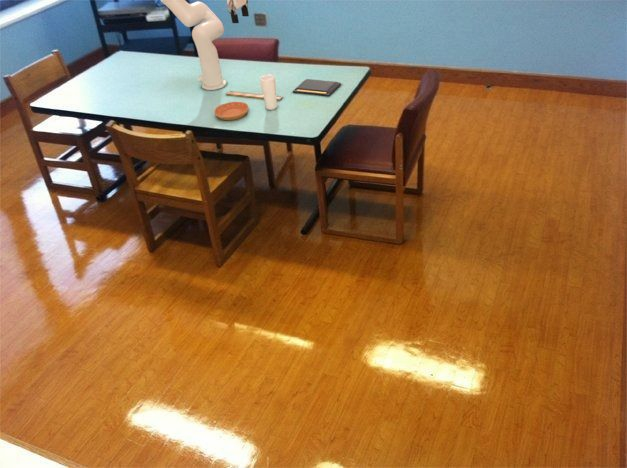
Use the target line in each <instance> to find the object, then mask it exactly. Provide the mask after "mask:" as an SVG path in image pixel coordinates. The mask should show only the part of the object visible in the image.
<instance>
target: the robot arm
mask: <svg viewBox="0 0 627 468" xmlns="http://www.w3.org/2000/svg"><path fill="white" fill-rule="evenodd" d="M159 1H160V2H161V3H162V4H164V6H166V7H167V8H168V9H169V10H170V11H171V12H172V14H173V15H174V16H175V17H176V18H177V19H178V20H179V21H180V22H181V23H182V25H184V26H185V27H186V28H191V27H193V29H192V31H191V37H192V40H193V42H194V45H195V47H196V50H197V55H198V59H199V65H200V68H201V69H200V70H201V73H202V75H199V76H198V78H197V79H198V81H199V82H202V84H201V87H202V89H204V90H207V91H215V90H220V89H222V88H224V87H225V86H226V85H227V80H226V79H224V78H223V73H222V68H221V64H220V58H219V54H218V49H217V48H216V46H215V45H214V43H213V41H214V40H216V39H218V38H220V37H221V36H222V35H223V34H224V32H225V27H224V24H223V22H222V21H221V20H220V18H219V17H218V16H217V15H216V13H214V12H213V11H212V9H210V8H209V6H208V5H207V4H206V3H204V2H202V1H194V2H192V3H189V2H188V1H187V0H159ZM226 3H227V5H226V8H227V11H228V13H229V15H230V20H231V23H232V24H240V21H239V16H238V12H237V11H238V9H240V10H241V16H242V17H249V16H250V14H249V8H248V7H249V5H248V3H249V0H226Z"/></svg>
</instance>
